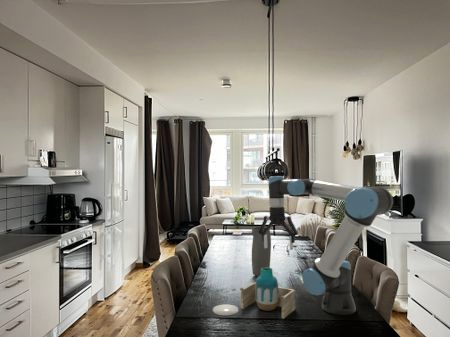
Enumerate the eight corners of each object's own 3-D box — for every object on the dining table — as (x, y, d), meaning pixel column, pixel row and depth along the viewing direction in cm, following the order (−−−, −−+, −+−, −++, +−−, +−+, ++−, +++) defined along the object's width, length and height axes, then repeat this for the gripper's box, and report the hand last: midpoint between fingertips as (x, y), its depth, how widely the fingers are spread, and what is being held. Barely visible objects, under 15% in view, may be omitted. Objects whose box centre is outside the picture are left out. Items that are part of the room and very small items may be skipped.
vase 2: (255, 305, 169) (254, 265, 170) (277, 305, 169) (276, 265, 169) (256, 314, 159) (256, 271, 159) (279, 314, 158) (279, 271, 159)
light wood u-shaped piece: (295, 309, 164) (295, 288, 164) (283, 319, 152) (282, 296, 153) (254, 300, 176) (254, 280, 176) (240, 308, 165) (240, 288, 165)
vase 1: (257, 272, 226) (257, 226, 227) (274, 275, 219) (273, 227, 220) (247, 276, 216) (247, 228, 217) (265, 280, 209) (264, 230, 210)
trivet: (243, 308, 165) (243, 307, 165) (229, 317, 155) (229, 316, 155) (222, 303, 171) (222, 302, 171) (207, 312, 162) (207, 310, 162)
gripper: (303, 206, 173) (304, 248, 173) (257, 205, 185) (258, 245, 184) (298, 207, 167) (300, 251, 166) (251, 207, 179) (252, 248, 178)
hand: (278, 248), depth 175 cm, fingers open, 13 cm apart
